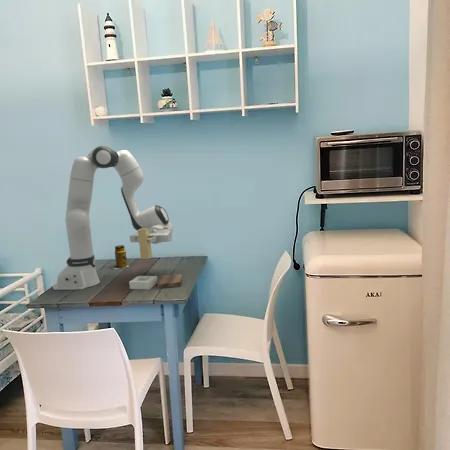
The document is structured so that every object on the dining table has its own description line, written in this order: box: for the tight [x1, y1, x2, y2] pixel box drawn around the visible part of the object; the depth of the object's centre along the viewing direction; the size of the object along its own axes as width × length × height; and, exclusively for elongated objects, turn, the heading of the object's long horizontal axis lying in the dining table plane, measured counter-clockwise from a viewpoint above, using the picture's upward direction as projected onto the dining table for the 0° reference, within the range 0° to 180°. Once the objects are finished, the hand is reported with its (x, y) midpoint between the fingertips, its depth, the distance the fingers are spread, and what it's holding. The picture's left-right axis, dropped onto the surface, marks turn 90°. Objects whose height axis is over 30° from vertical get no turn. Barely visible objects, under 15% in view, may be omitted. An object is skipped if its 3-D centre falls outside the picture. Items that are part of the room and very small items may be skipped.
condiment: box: [111, 244, 130, 270], centre depth 265 cm, size 7×8×12 cm
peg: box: [137, 228, 153, 260], centre depth 223 cm, size 4×4×14 cm
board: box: [156, 273, 183, 289], centre depth 229 cm, size 11×14×2 cm
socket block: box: [128, 275, 158, 290], centre depth 226 cm, size 10×10×4 cm
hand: (143, 240), depth 222 cm, fingers closed on peg, 4 cm apart
